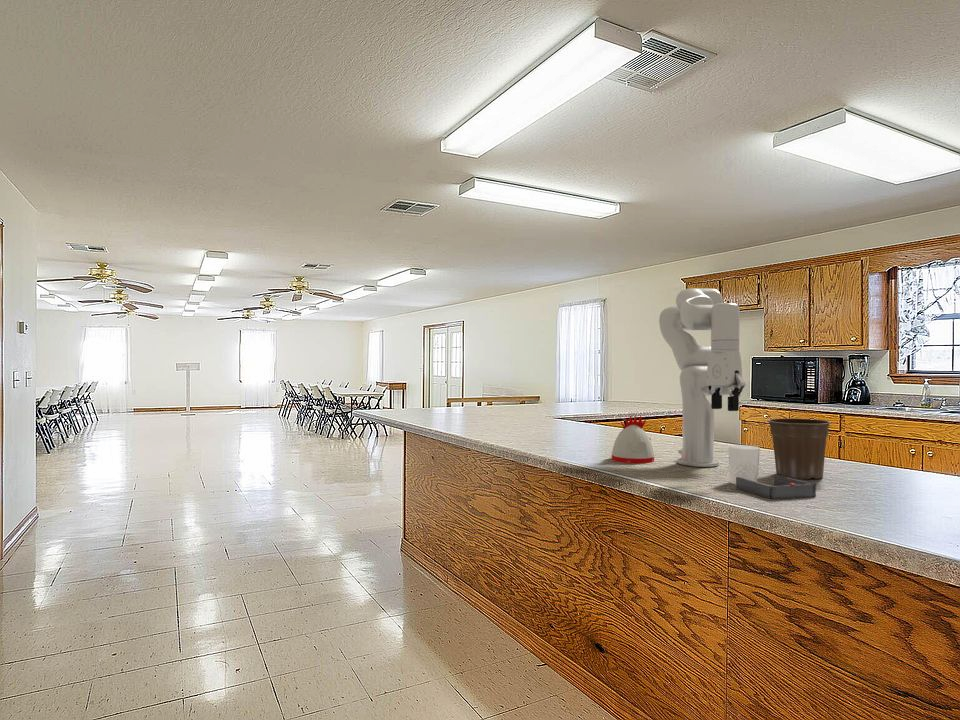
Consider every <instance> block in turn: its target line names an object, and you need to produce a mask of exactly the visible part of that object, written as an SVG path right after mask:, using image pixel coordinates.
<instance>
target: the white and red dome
mask: <svg viewBox="0 0 960 720" xmlns="http://www.w3.org/2000/svg"><path fill="white" fill-rule="evenodd" d="M624 420H625V425H624V423H623V422H622V421H620V424H621V426H622V428H623V429H621V431H619V433H618V435H617V437H616V438H615V440H614V443H613V446H612V451H611V460H612V461H614V462H617V463H622V464H623V463H624V464H649V463H651V464H652V463H654V462H655V451H654V447H653V444H652V442H651V441H652V439H651V437H649V435H648V434H647V433H646V431H645V430H644V429H643V428H644V426H645V425H646V421H647V420H646V419H644V420H643V418H642V415H640V416H639V419H638V418H637V416H636V415H634V419H633V416H632V415H629V420H628V419H627V418H625V419H624Z"/></svg>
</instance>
